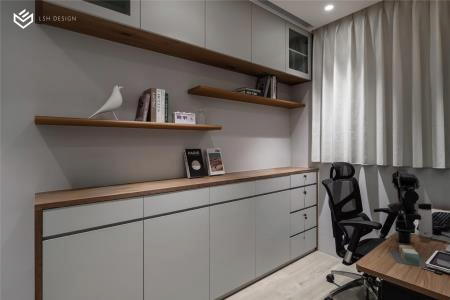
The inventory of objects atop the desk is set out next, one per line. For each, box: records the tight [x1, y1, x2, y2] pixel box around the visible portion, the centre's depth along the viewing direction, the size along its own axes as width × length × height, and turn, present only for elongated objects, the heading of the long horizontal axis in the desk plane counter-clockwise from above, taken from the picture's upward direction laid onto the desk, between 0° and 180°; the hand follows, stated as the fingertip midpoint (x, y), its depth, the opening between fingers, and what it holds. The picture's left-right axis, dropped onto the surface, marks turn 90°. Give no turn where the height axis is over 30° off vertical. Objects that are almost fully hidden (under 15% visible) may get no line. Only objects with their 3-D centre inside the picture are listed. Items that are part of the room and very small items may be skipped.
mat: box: [388, 249, 430, 269], centre depth 115 cm, size 16×12×1 cm
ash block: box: [398, 244, 420, 267], centre depth 113 cm, size 5×5×10 cm
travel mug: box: [417, 203, 433, 239], centre depth 144 cm, size 6×7×20 cm
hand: (408, 228), depth 123 cm, fingers closed
